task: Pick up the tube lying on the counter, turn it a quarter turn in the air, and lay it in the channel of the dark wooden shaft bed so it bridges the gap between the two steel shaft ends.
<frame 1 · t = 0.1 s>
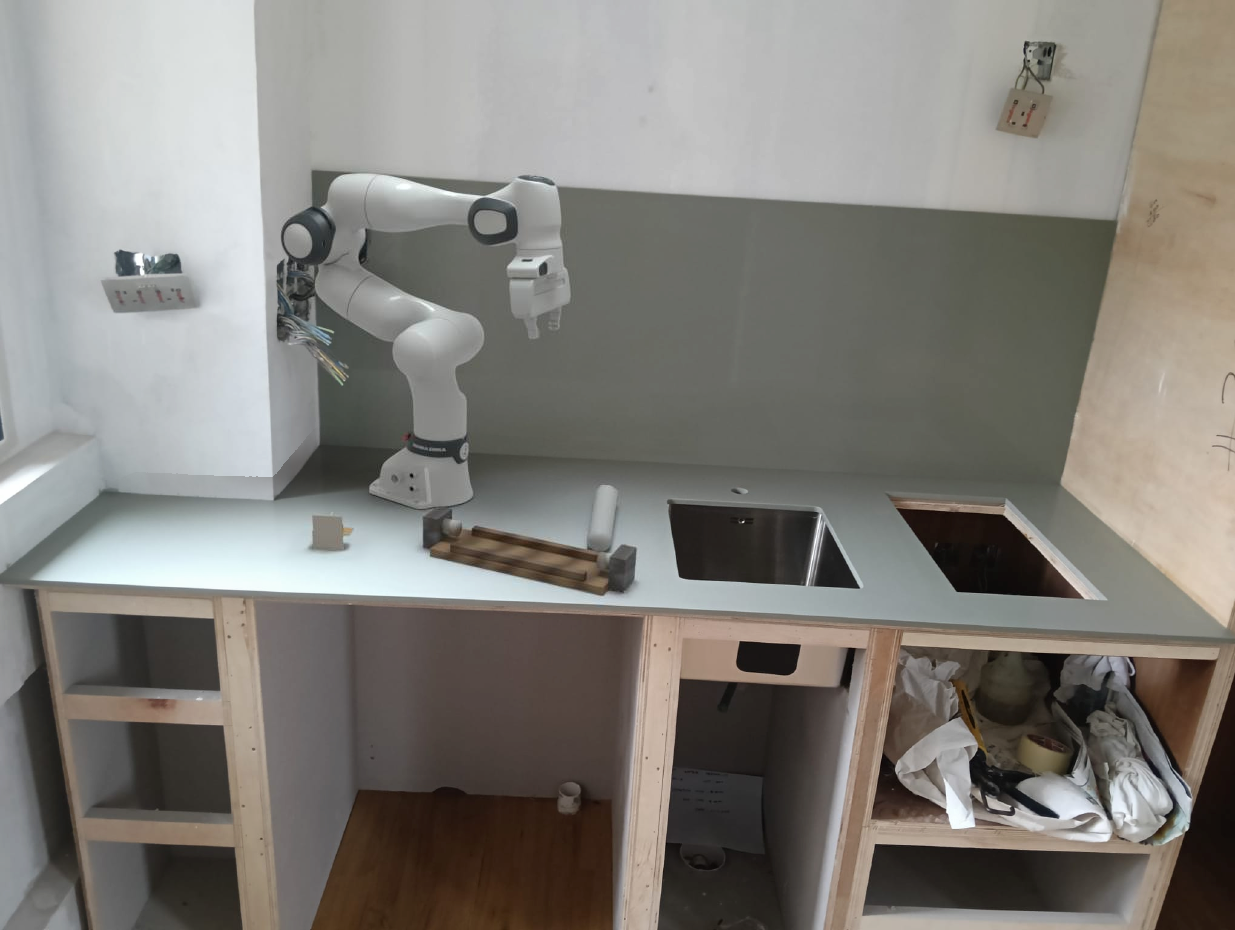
hand: (544, 334, 195), 39 cm above the worktop, tool pointing down, fingers open, 8 cm apart
tube: (602, 530, 204), on the worktop
shaft bed: (526, 563, 187), on the worktop
architectural model: (329, 550, 188), on the worktop
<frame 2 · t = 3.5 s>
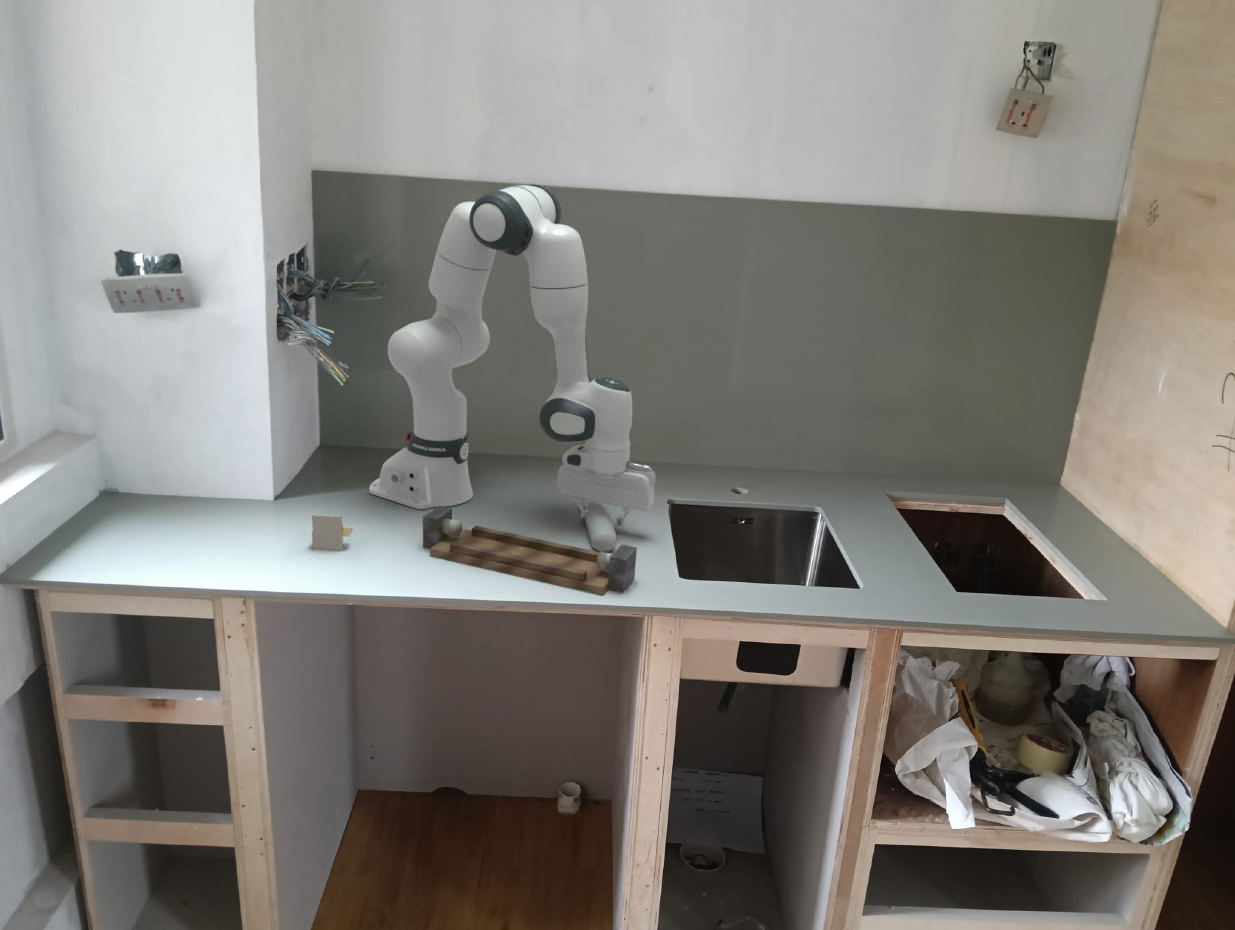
hand: (603, 521, 204), 2 cm above the worktop, tool pointing down, fingers open, 6 cm apart
tube: (597, 530, 204), on the worktop, touching gripper
everything else where it was.
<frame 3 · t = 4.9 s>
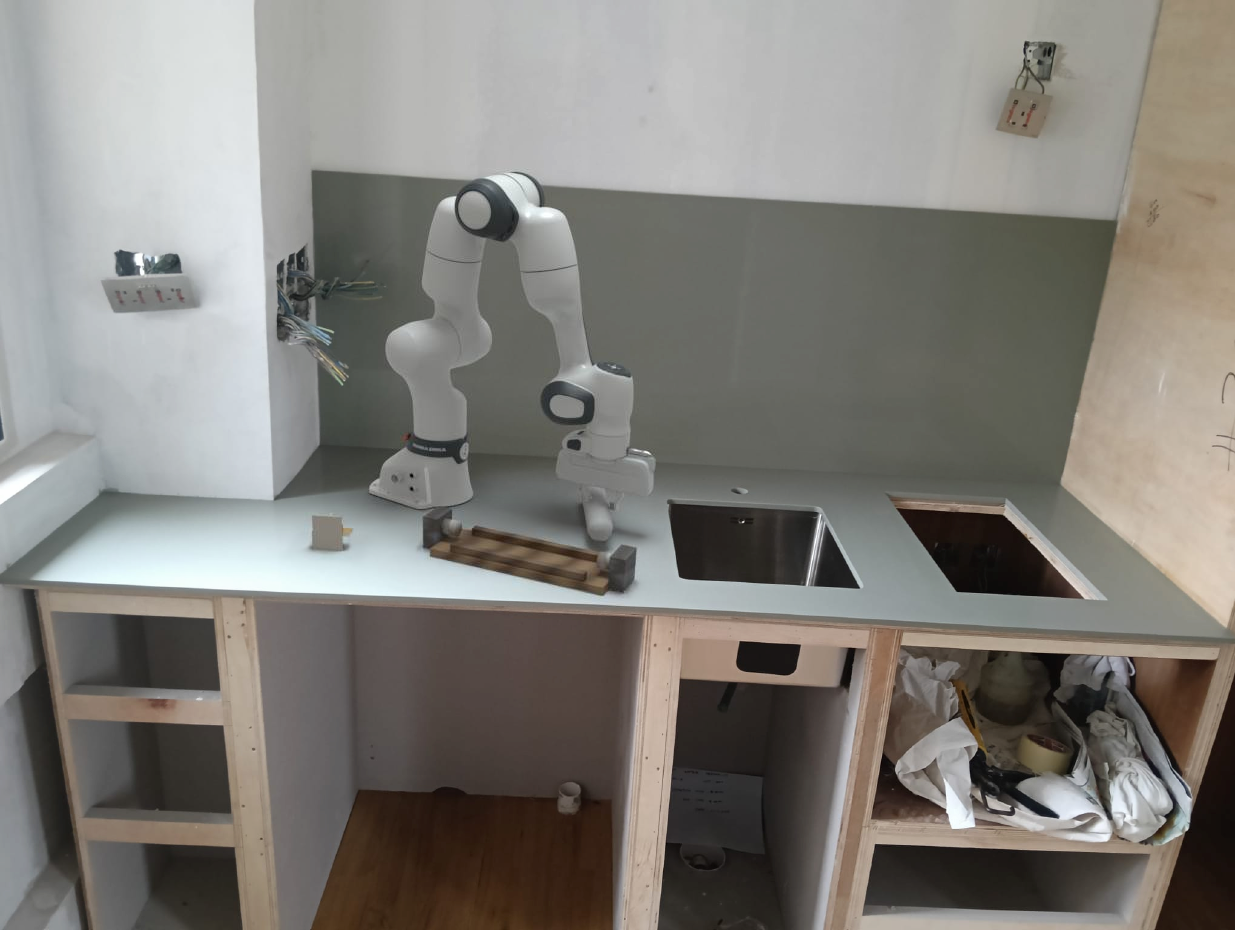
hand: (601, 506, 203), 5 cm above the worktop, tool pointing down, fingers closed on tube, 4 cm apart
tube: (593, 519, 204), point 2 cm above the worktop, touching gripper
everything else where it was.
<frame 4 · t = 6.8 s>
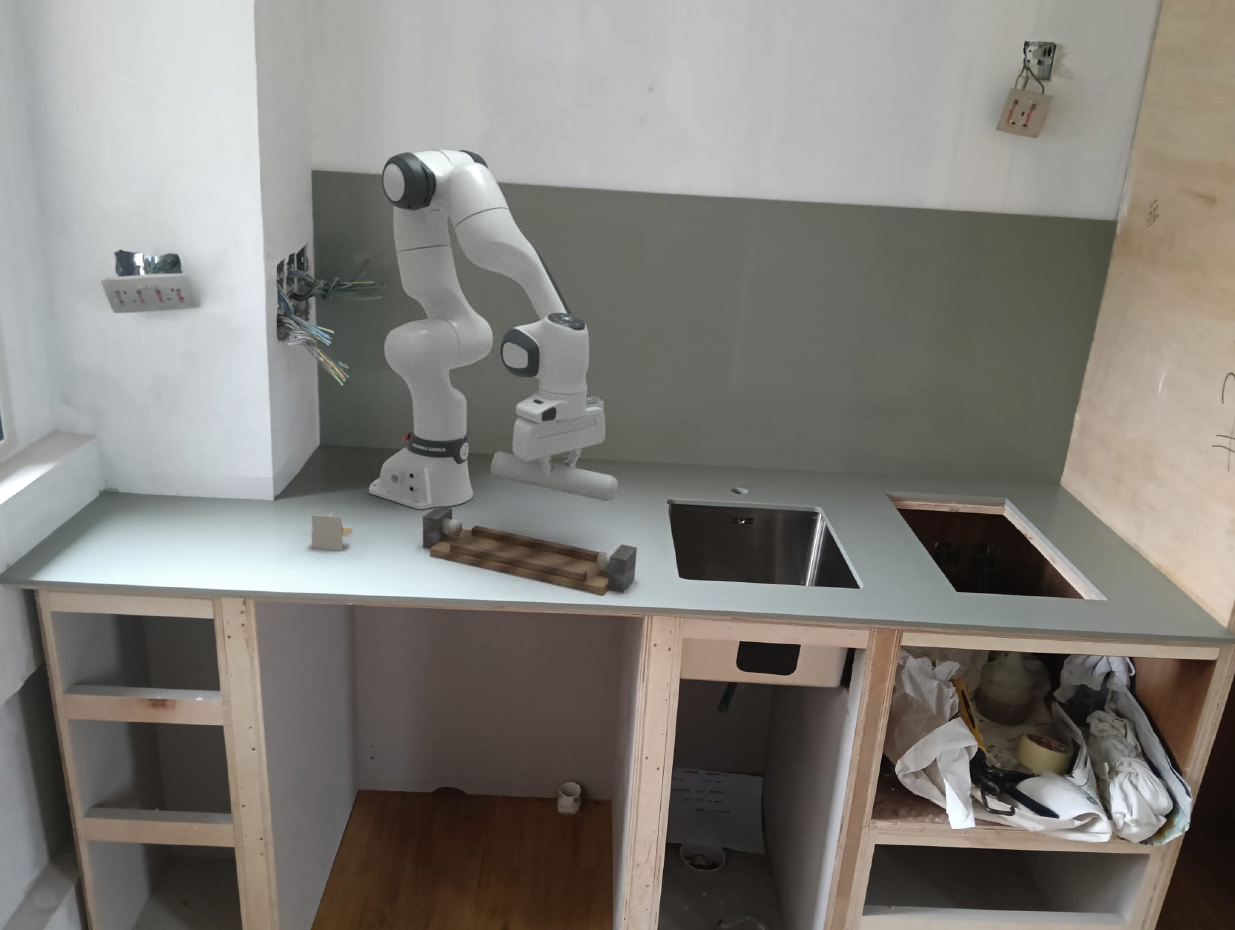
hand: (559, 472, 187), 16 cm above the worktop, tool pointing down, fingers closed on tube, 4 cm apart
tube: (554, 490, 187), point 13 cm above the worktop, touching gripper
everything else where it was.
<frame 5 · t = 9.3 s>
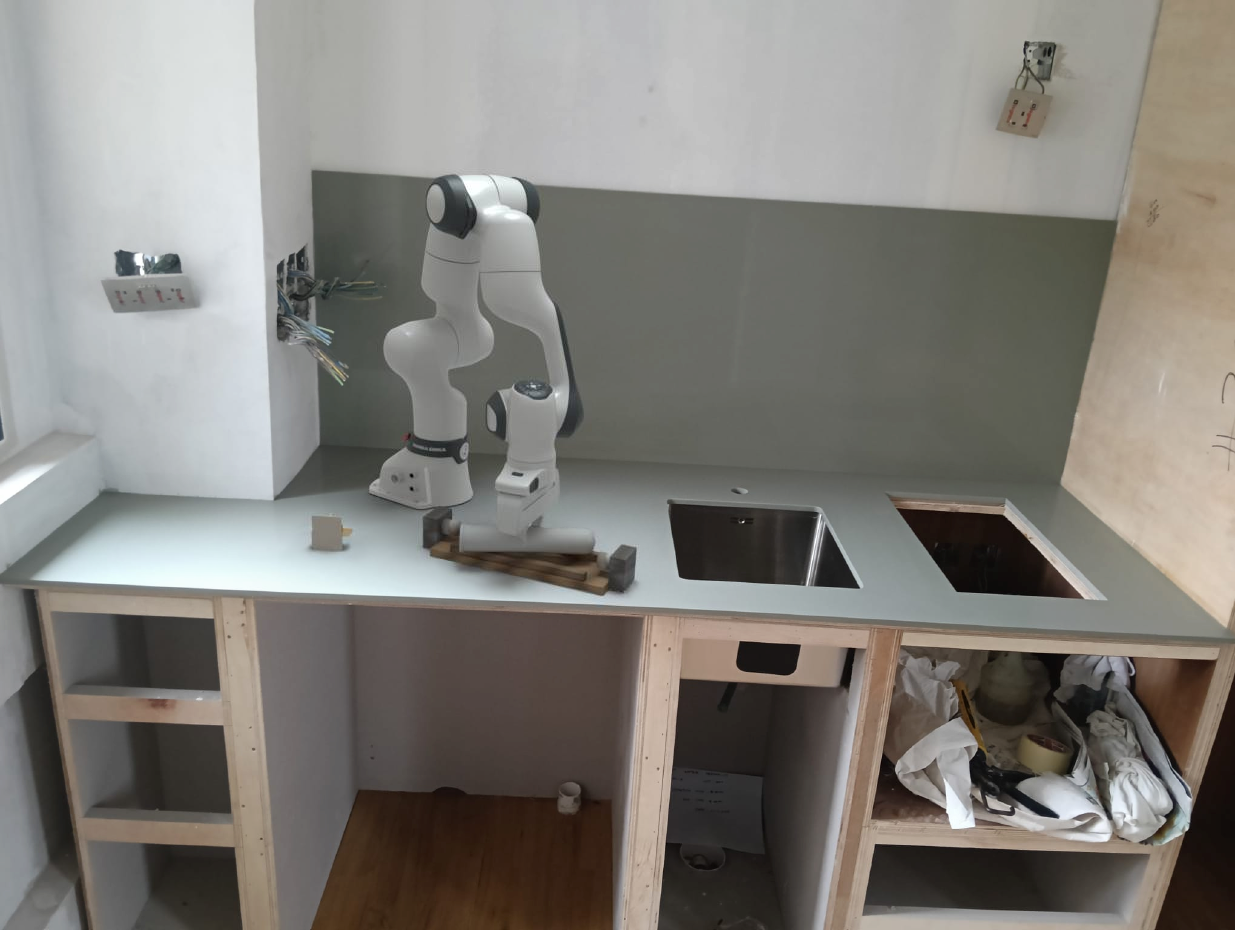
hand: (529, 540, 185), 5 cm above the worktop, tool pointing down, fingers closed on tube, 4 cm apart
tube: (527, 552, 184), point 3 cm above the worktop, touching gripper, shaft bed
everything else where it was.
when the fingers open (5 cm above the worktop, at t = 10.0 s): tube stays where it is, resting on shaft bed.
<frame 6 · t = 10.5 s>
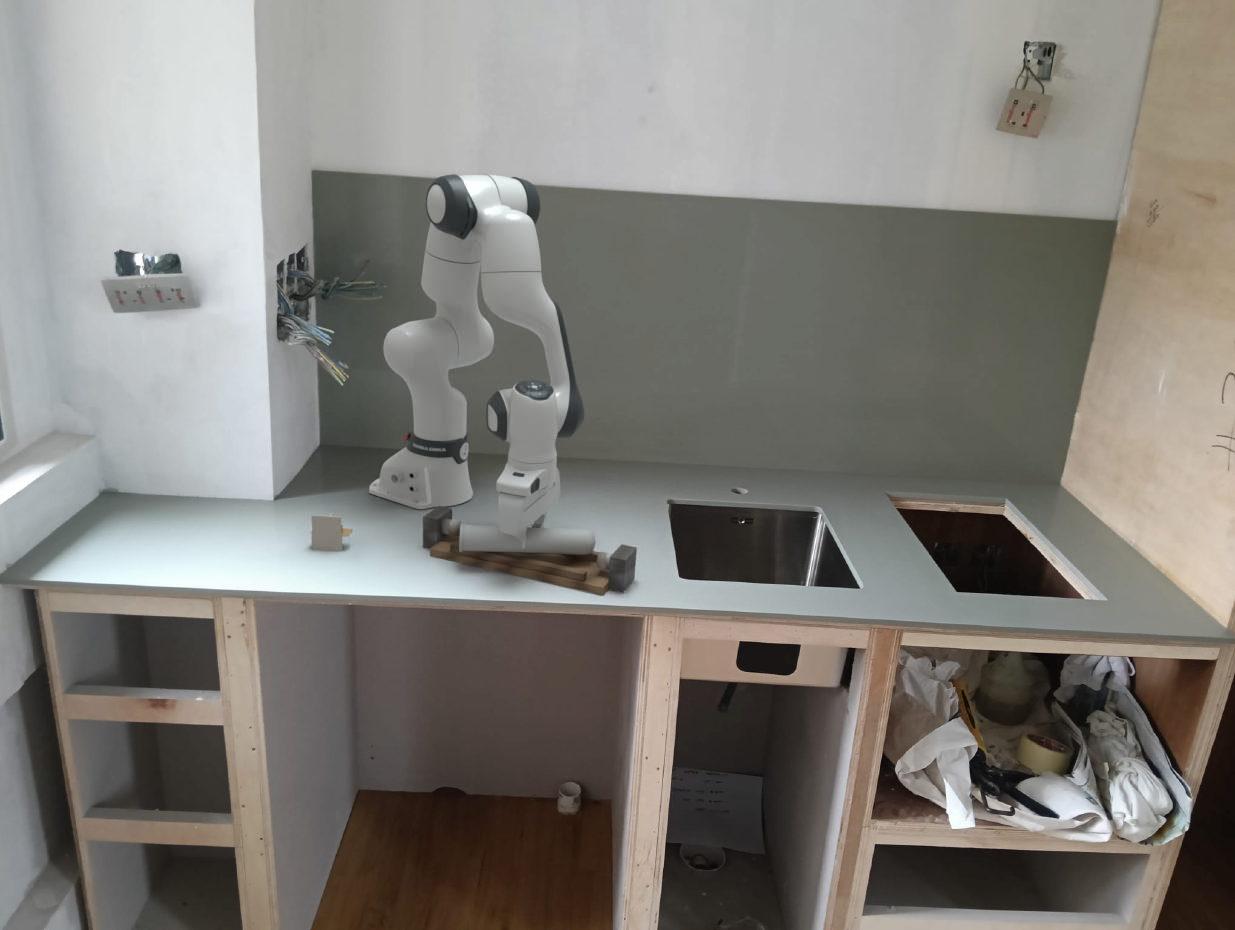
hand: (529, 539, 185), 5 cm above the worktop, tool pointing down, fingers open, 5 cm apart
tube: (527, 552, 184), point 3 cm above the worktop, touching gripper, shaft bed
everything else where it was.
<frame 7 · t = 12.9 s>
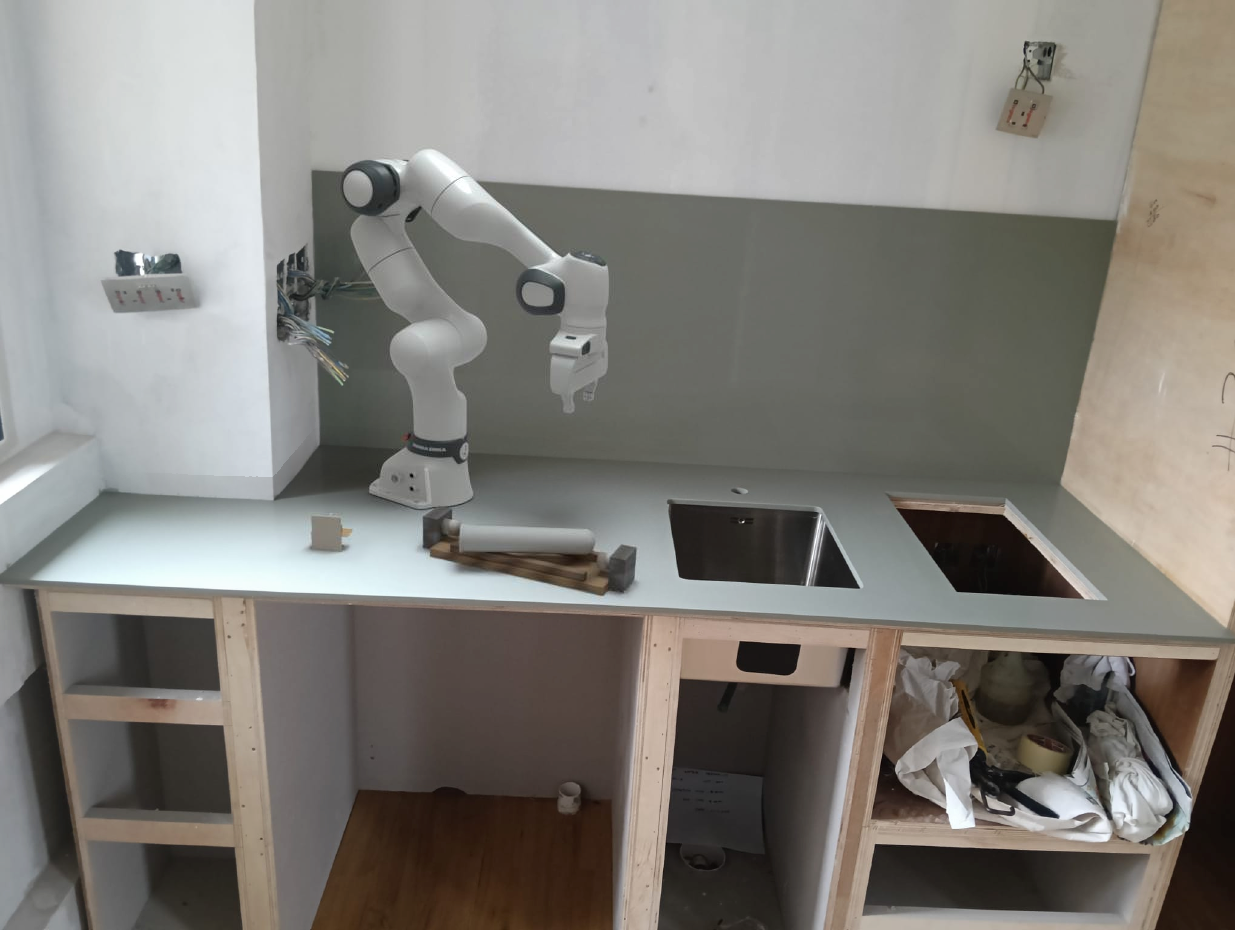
hand: (578, 406, 196), 26 cm above the worktop, tool pointing down, fingers open, 8 cm apart
tube: (527, 552, 184), point 3 cm above the worktop, touching shaft bed
everything else where it was.
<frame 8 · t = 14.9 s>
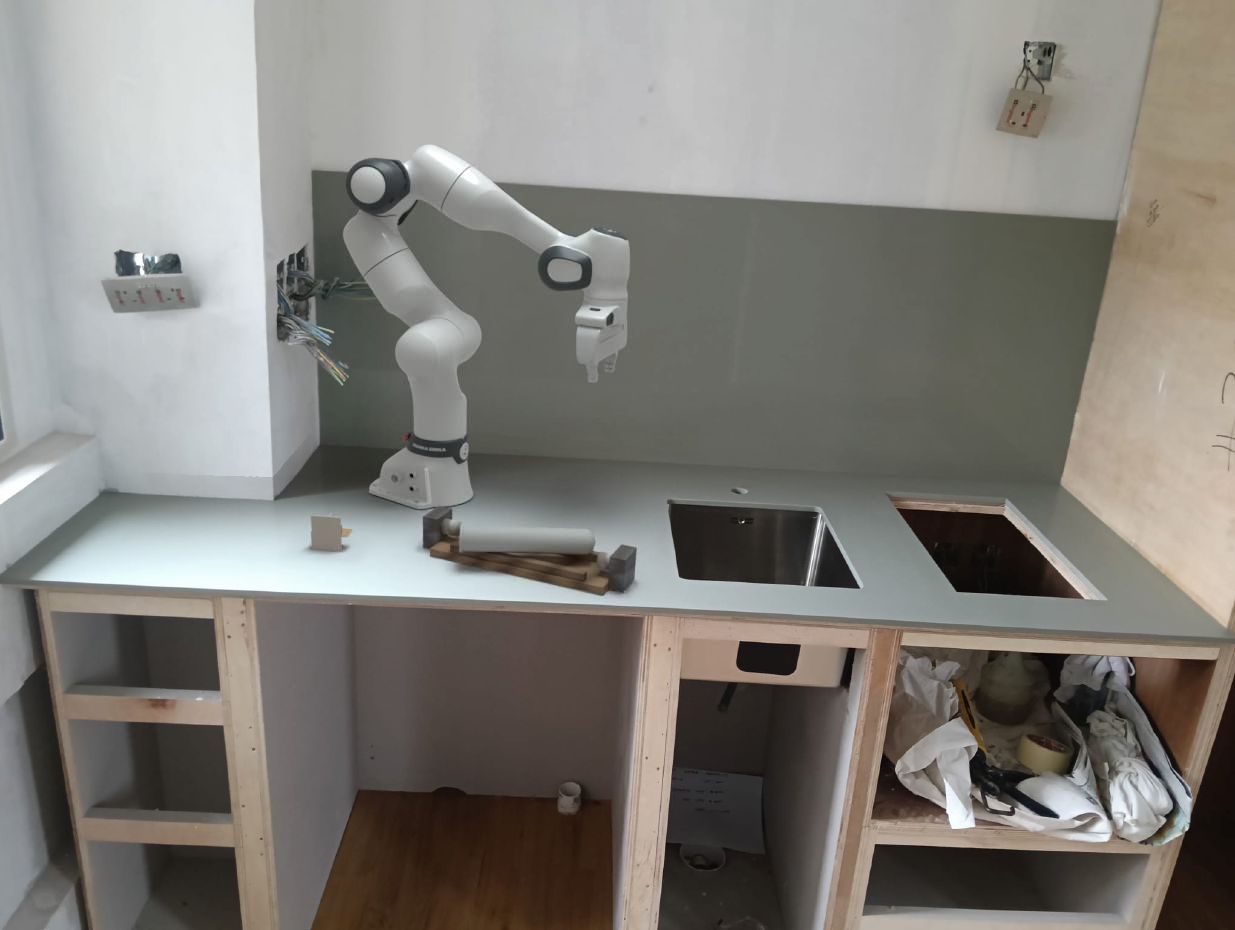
hand: (601, 376, 205), 29 cm above the worktop, tool pointing down, fingers open, 8 cm apart
nothing on the worktop moved.
at the end: tube 1.4 cm off-centre on the shaft bed, point 2.8 cm above the shaft bed's base; tube touching shaft bed; the gripper is holding nothing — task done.
